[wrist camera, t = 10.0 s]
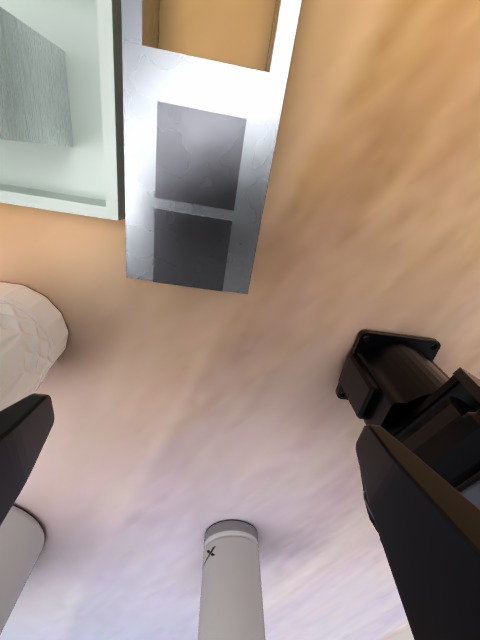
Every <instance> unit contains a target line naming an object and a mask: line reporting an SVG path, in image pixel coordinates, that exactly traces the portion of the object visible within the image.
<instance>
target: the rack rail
mask: <svg viewBox="0 0 480 640" xmlns="http://www.w3.org/2000/svg"><path fill="white" fill-rule="evenodd" d="M301 1H302V0H276V6H275V13H274V19H273V26H272V32H271V39H270V45H269V51H268V58H267V64H266V71H265V72H264V71H259V70H255V69H250V68H245V67H241V66H236V65H231V64H227V63H222V62H217V61H213V60H208V59H203V58H199V57H194V56H189V55H185V54H180V53H176V52H171V51H166V50H162V49H158V31H159V0H121V10H122V62H123V114H124V167H125V219H126V271H127V278H134V279H141V280H149V281H153V282H159V283H166V284H173V285H181V286H188V287H196V288H203V289H210V290H218V291H230V292H237V293H245V294H248V289H249V283H250V278H251V273H252V267H253V262H254V256H255V251H256V245H257V240H258V235H259V229H260V224H261V218H262V213H263V207H264V202H265V197H266V191H267V186H268V180H269V175H270V169H271V164H272V159H273V153H274V148H275V142H276V137H277V132H278V126H279V121H280V115H281V110H282V104H283V99H284V94H285V88H286V83H287V77H288V72H289V66H290V61H291V56H292V50H293V45H294V39H295V34H296V28H297V23H298V18H299V12H300V7H301Z"/></svg>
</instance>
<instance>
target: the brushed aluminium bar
mask: <svg viewBox="0 0 480 640" xmlns="http://www.w3.org/2000/svg"><path fill="white" fill-rule="evenodd" d="M0 139H2V140H11V141H20V142H29V143H37V144H46V145H55V146H64V147H72V148H74V146H73V135H72V124H71V113H70V102H69V91H68V81H67V70H66V59H65V51H64V50H62V49H61V48H59V47H58V46H56V45H55V44H54V43H52V42H51V41H49V40H48V39H46V38H45V37H43V36H42V35H41V34H39V33H38V32H36V31H35V30H33V29H32V28H31V27H29V26H28V25H26V24H25V23H23V22H22V21H20V20H19V19H18V18H16V17H15V16H13V15H12V14H10V13H9V12H7V11H6V10H5V9H3V8H2V7H0Z"/></svg>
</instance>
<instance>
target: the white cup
mask: <svg viewBox="0 0 480 640" xmlns="http://www.w3.org/2000/svg"><path fill="white" fill-rule="evenodd" d="M67 338H68V330H67V327H66V324H65V321H64V319H63V316H62V314H61V313H60V312H59V310H58V309H57V308H56V307H55V306H54V305H53V304H52V303H51V302H50V301H49V300H48V299H47V298H46V297H45V296H43V295H41V294H39V293H37V292H35V291H34V290H32V289H30V288H28V287H26V286H24V285H18V284H12V283H5V282H0V411H1V410H3V409H5V408H7V407H8V406H10V405H12V404H14V403H16V402H18V401H19V400H21V399H23V398H25V397H27V396H28V395H31V394H33V393H34V392H35V390H36V389H37V388H38V386H39V385H40V384H41V382H42V381H43V379H44V378H45V376H46V374H47V372H48V370H49V369H50V368H51V366H52V365H53V364H54V363H55V361H56V360H57V359H58V358H59V356H60V355H61V354H62V353H63V351H64V350H65V348H66V343H67Z"/></svg>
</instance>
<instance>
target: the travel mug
mask: <svg viewBox="0 0 480 640" xmlns="http://www.w3.org/2000/svg"><path fill="white" fill-rule="evenodd" d="M198 640H265V628H264V615H263V601H262V588H261V575H260V562H259V550H258V536H257V531H256V530H255V528H254V527H253V526H251V525H250V524H248V523H245V522H242V521H236V520H228V521H222V522H219V523H216V524H214V525H212V526H211V527H210V528H209V529H208V530H207V531H206V533H205V539H204V554H203V569H202V584H201V599H200V614H199V629H198Z"/></svg>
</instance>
